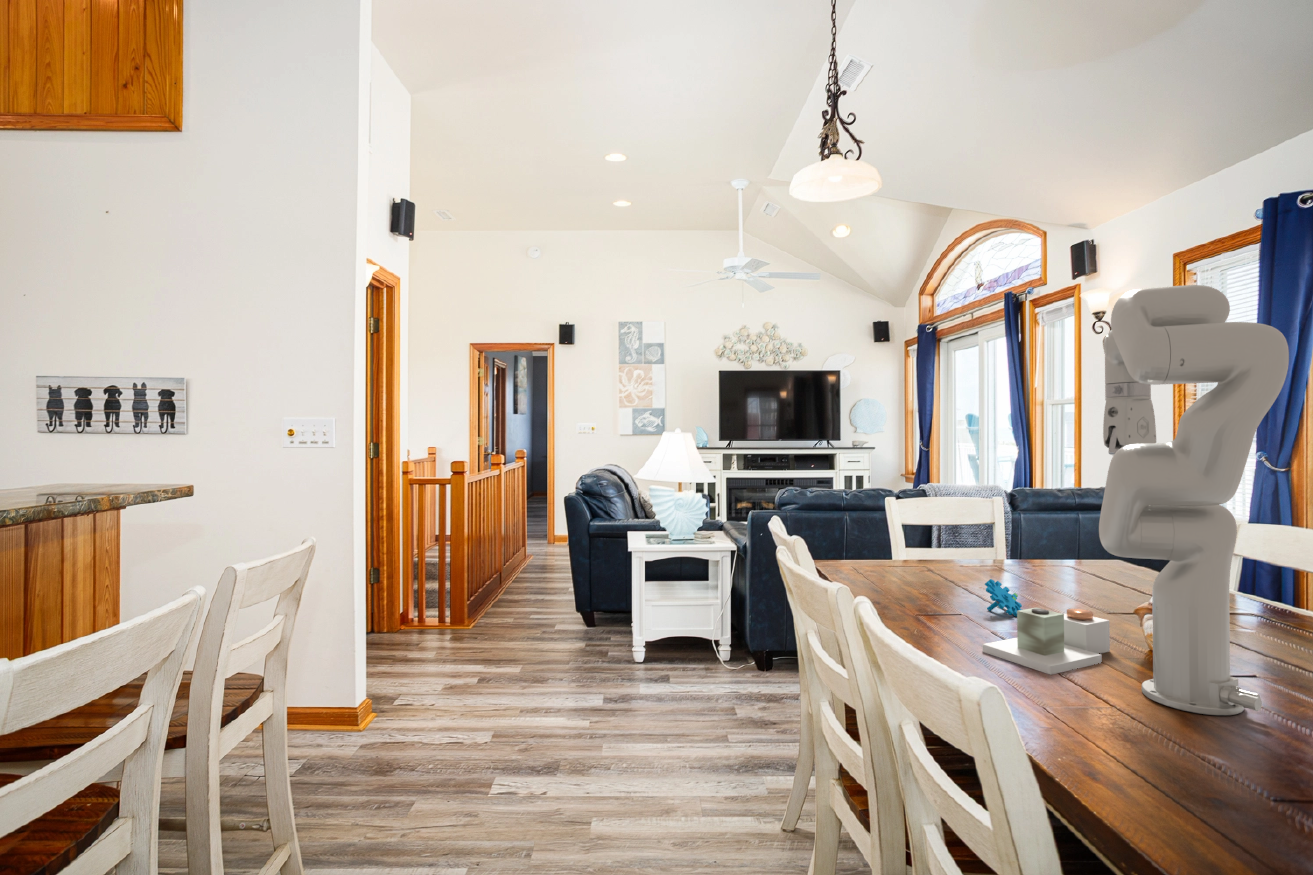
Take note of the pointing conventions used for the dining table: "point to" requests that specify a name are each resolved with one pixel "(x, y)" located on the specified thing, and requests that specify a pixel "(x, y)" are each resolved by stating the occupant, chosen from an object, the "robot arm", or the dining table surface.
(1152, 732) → the dining table surface
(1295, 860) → the dining table surface
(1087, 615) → the press pin
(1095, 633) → the press bed
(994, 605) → the gear
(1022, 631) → the block
